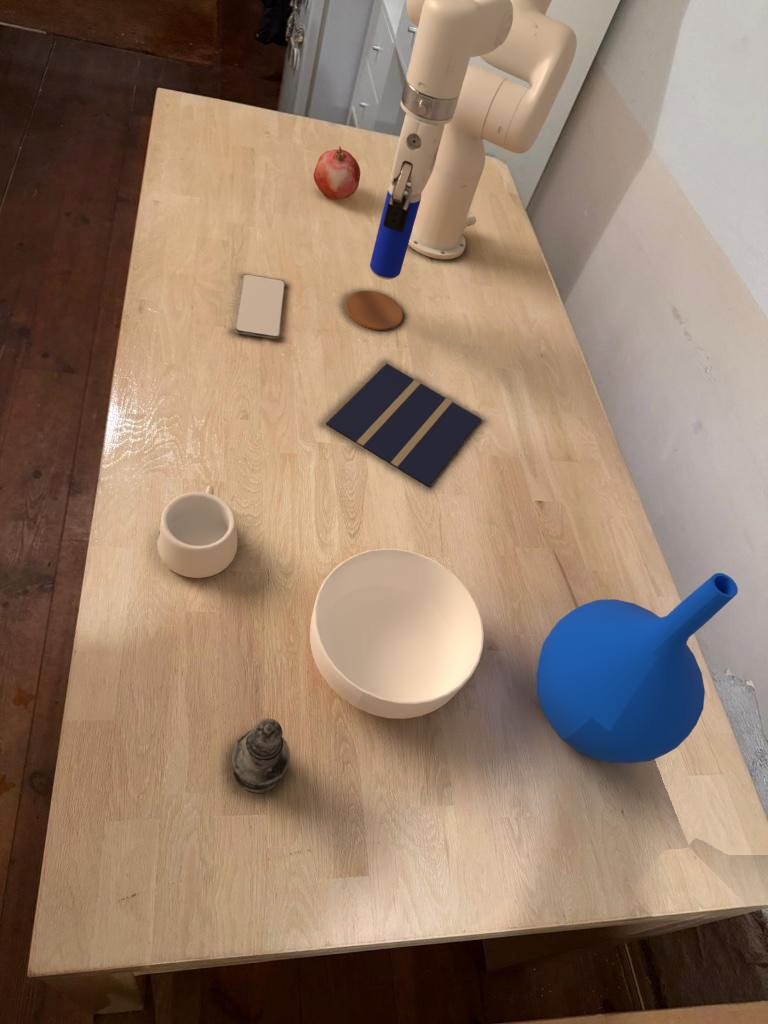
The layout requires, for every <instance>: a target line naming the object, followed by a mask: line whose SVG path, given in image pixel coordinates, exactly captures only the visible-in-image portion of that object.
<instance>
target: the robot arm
mask: <svg viewBox="0 0 768 1024" xmlns="http://www.w3.org/2000/svg"><path fill="white" fill-rule="evenodd" d="M405 1H406V2H405V9H406V13H407V16H408V18H409V20H410V22H411V23H412V24H413V25H414V26H416V27H417V29H416V34H415V38H414V43H413V47H412V51H411V56H410V59H409V63H408V68H407V73H406V78H405V81H404V86H403V89H402V94H401V99H400V103H399V104H400V107H401V109H402V110H403V112H404V113H405V116H404V120H403V124H402V127H401V131H400V134H399V138H398V143H397V147H396V150H395V155H394V159H393V164H392V168H391V173H390V179H389V182H390V184H392V185H394V188H393V192H392V195H391V198H390V201H389V203H388V207H387V211H386V215H385V219H384V223H383V225H384V226H385V227H387V228H390V229H392V230H395V231H398V232H403V230H404V228H405V224H406V220H407V217H408V213H409V209H410V208H409V207H408V206H409V202H410V199H411V196H412V192H415V193H416V194H420V193H421V196H422V197H421V201H420V205H419V208H418V212H417V215H416V219H415V222H414V226H413V229H412V233H411V237H410V240H409V244H408V246H409V247H410V248H412V250H414V251H415V252H417V253H419V254H421V255H423V256H425V257H428V258H432V259H436V260H452V259H455V258H458V257H460V256H461V255H462V254H463V253H464V251H465V248H466V245H467V242H466V238H465V237H464V235H463V233H464V231H465V230H466V229H467V227H470V226H471V227H472V226H473V225H475V224H476V222H477V217H476V216H475V215H474V214H469V212H470V209H471V206H472V203H473V200H474V198H475V194H476V192H477V188H478V186H479V182H480V179H481V177H482V174H483V171H484V169H485V166H486V165H485V164H486V148H485V142H484V141H486V142H488V143H491V144H493V145H496V146H498V147H499V148H502V149H504V150H506V151H509V152H511V153H513V154H524V153H527V152H528V151H530V149H531V148H532V147H533V145H534V144H535V142H536V141H537V139H538V137H539V135H540V133H541V131H542V130H543V127H544V125H545V123H546V120H547V119H548V116H549V113H550V112H551V111H552V108H553V106H554V104H555V102H556V100H557V97H558V95H559V93H560V92H561V89H562V87H563V85H564V83H565V80H566V78H567V76H568V74H569V72H570V70H571V67H572V64H573V62H574V59H575V55H576V51H577V47H578V46H577V45H578V40H577V35H576V33H575V31H574V30H573V28H571V27H570V26H569V25H567V24H566V23H564V22H562V21H559V20H558V19H555V18H553V17H550V16H548V15H546V14H547V12H548V10H549V7H550V5H551V3H552V1H553V0H405ZM474 57H480V59H482V60H483V62H485V63H486V64H488V65H489V66H492V67H493V68H494V69H497V70H499V71H502V72H503V73H505V74H508V75H510V76H512V77H515V78H517V79H519V80H521V81H523V82H526V83H528V84H529V86H530V88H528V87H526V86H523V85H522V84H520V83H517V82H514V81H513V80H510V79H508V78H506V77H504V76H502V75H499V74H497V73H495V72H493V71H491V70H489V69H486V68H484V67H480V66H477V65H470V60H471V58H474ZM408 182H409V183H411V187H410V186H408V185H407V183H408ZM405 191H407V192H408V194H407V197H406V196H404V192H405Z"/></svg>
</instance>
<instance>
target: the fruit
mask: <svg viewBox="0 0 768 1024" xmlns="http://www.w3.org/2000/svg"><path fill="white" fill-rule="evenodd" d="M313 180H314V183H315V185H316V186H317V188H318V190H319V192H321V194H322V195H323V196H324V197H325V198H327V199H331V200H343V199H347V198H348V199H349V198H350V197H351V196H353V195H354V194H355V193H356V192H357V190H358V188H359V184H360V181H361V168H360V165H359V163H358V161H357V159H356V158H355V157H354V156H353V154H351V153H350V152H349V151H347V150H345V149H342V148H341V145H339V148H338V149H330V150H327V151H325V152H322V154H321V155H320V156H319V157H318V161H317V163H316V166H315V168H314V171H313Z"/></svg>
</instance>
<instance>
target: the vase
mask: <svg viewBox="0 0 768 1024" xmlns="http://www.w3.org/2000/svg"><path fill="white" fill-rule="evenodd" d="M738 593H739V588H738V585H737V583H736V582H735V581H734V579H733V578H732V577H731V576H729V575H727V574H726V573H723V572H716V573H714V574H712V575H711V576H710V577H709V578H707V580H706V581H704V582H703V583H702V584H701V585H700V586H698V587H697V588H696V589H695V590H693V592H691V593H690V594H689V595H688V596H687V597H686V598H685V599H683V600H682V601H681V602H679V604H677V605H676V606H675V608H673V609H672V610H671V611H670V612H669V613H668V614H667V615H664V616H662V617H660V616H659V615H657V614H655V613H654V612H653V611H652V610H650V609H647V608H645V607H643V606H640V605H639V604H636V603H634V602H629V601H624V600H621V599H616V598H615V599H614V598H613V599H612V598H611V599H610V598H609V599H596V600H594V601H590V602H588V603H584V604H581V605H580V606H578V607H576V608H574V609H573V610H571V611H570V612H568V613H567V614H565V615H564V616H563V617H562V618H560V619H559V620H558V621H557V622H556V623H555V625H554V626H553V627H552V629H551V630H550V632H549V634H548V635H547V636H546V637H545V639H544V640H543V643H542V646H541V650H540V654H539V658H538V664H537V670H536V692H537V696H538V700H539V703H540V704H539V705H540V707H541V710H542V711H543V713H544V715H545V717H546V719H547V721H548V723H549V725H550V726H551V728H552V729H553V730H554V731H555V733H556V734H557V735H558V736H559V737H560V738H561V740H563V741H564V742H565V743H566V744H568V745H569V746H571V747H572V748H573V749H575V750H576V751H577V752H579V753H581V754H583V755H585V756H587V757H590V758H592V759H594V760H596V761H600V762H606V763H612V764H636V763H644V762H653V761H654V760H656V759H658V758H661V757H662V756H665V755H667V754H669V753H670V752H672V751H674V750H675V749H677V748H678V747H679V746H680V745H681V744H682V743H683V742H684V741H685V740H686V739H687V738H688V737H689V736H690V734H691V733H693V731H694V729H695V727H696V726H697V724H698V722H699V720H700V717H701V715H702V713H703V711H704V706H705V695H706V690H705V684H704V679H703V673H702V671H701V667H700V665H699V663H698V661H697V658H696V656H695V653H694V652H693V651H692V650H691V647H689V645H688V640H690V638H691V637H692V636H693V635H694V634H695V633H696V632H697V631H699V630H700V629H701V628H702V627H704V625H706V623H708V622H709V621H710V620H711V619H712V618H713V617H714V616H715V615H716V614H717V613H718V612H720V610H722V609H723V608H724V607H725V606H726V605H727V604H728V603H729V602H730V601H732V599H734V597H736V596H737V595H738Z"/></svg>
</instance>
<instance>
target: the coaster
mask: <svg viewBox="0 0 768 1024" xmlns="http://www.w3.org/2000/svg"><path fill="white" fill-rule="evenodd" d="M345 310H346V312H347V314H348V316H349V317H350V319H351V320H352V321H354V322H355V323H356V324H358V325H360V326H361V327H364V328H365V329H369V330H374V331H389V330H392V329H395V328H397V327H398V326H399V325H400V324H401V322H402V320H403V310H402V308H401V306H400V304H399V303H398V302H397V301H395V299H393V298H392V297H390V296H388V295H387V294H384V293H382V292H379V291H374V290H373V291H372V290H361V291H360V290H359V291H357V292H354V293H352V294H351V295H350V296H349V297H348V298H347V300H346V302H345Z"/></svg>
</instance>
